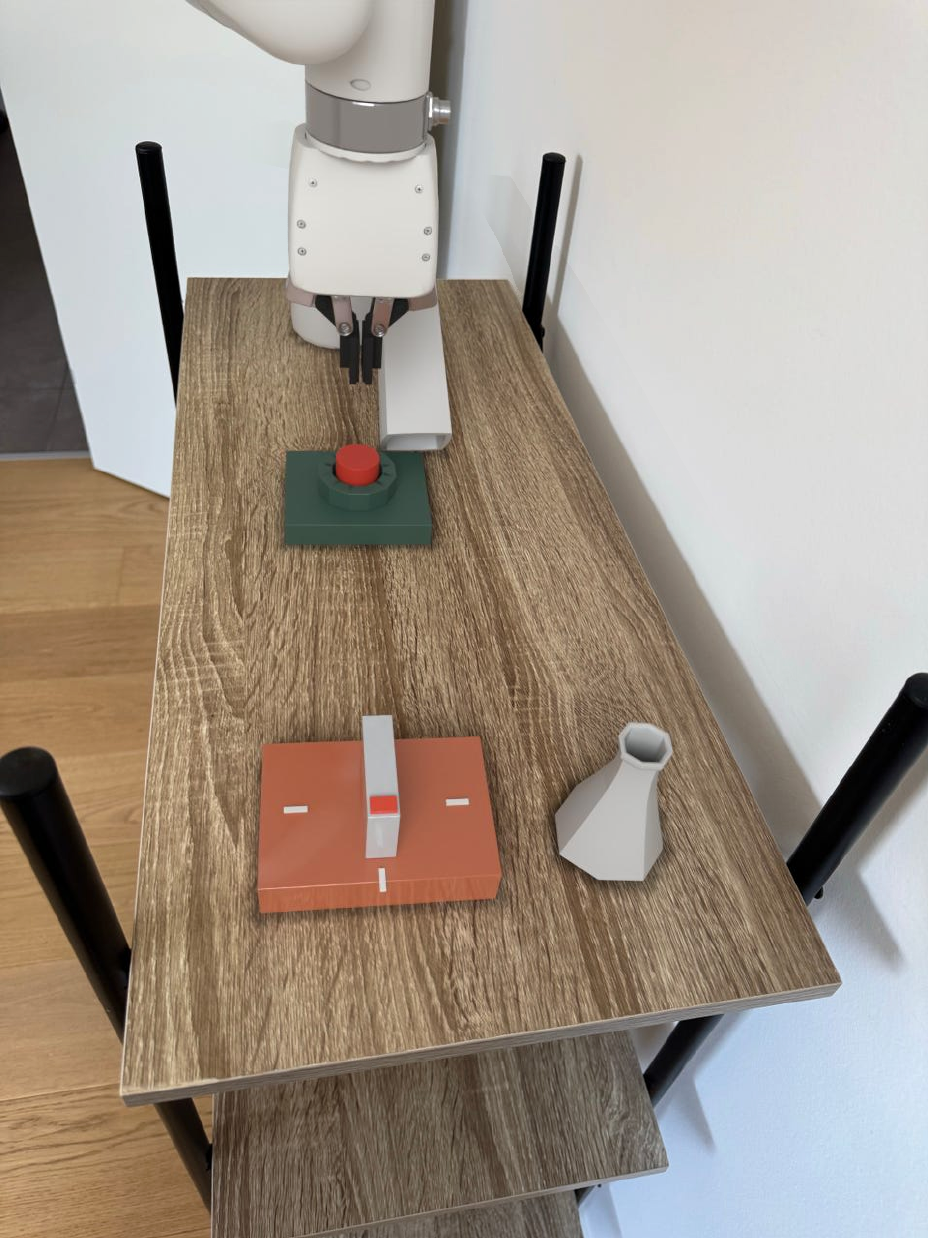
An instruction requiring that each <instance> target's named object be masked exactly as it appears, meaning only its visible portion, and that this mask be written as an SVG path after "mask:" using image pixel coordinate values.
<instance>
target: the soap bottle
mask: <svg viewBox="0 0 928 1238" xmlns="http://www.w3.org/2000/svg"><path fill="white" fill-rule="evenodd" d="M371 298H372V297H350V299H351V306H352V311H353V312H354V313H355V314H356V318H357V320H359V332H360V347H361V346H362V320H365V316H366V314H367V313H368V312H369V309H370V304H371ZM290 318H291V319H290V320H291V324H292V327H293V331H294V332H296V333H297V335H299V337H300V338H302V340H304V341H305V342H307V343H309V344H311V345H314V346H316V347H318V348H323V349H324V348H325V349H330V350H340V334H339V333H338V332H337V329H336V327H335V326H334V325H333V324H332V323H331V322H330V321H329V320H328V319H327V318H326V317H325V316H324V315H323V314H322V313H320V312H319V311H318V310H317V308H314V307H307V306H304V305H300V304H296V303H293V302H290Z"/></svg>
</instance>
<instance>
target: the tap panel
mask: <svg viewBox="0 0 928 1238" xmlns="http://www.w3.org/2000/svg"><path fill="white" fill-rule="evenodd" d="M394 744H395V756H396V768H397V780H398V792H399V804H400V825H399V835H398V845H397V854H396V857H382V858H365V839H364V819H363V800H362V780H361V760H360V758H361V739H360V740H359V739H357V740H335V741H334V740H331V741H301V742H277V743H263V744H262V750H261V752H262V755H261V777H260V778H261V780H260V781H261V783H260V804H259V805H260V807H259V811H260V812H259V831H258V832H259V833H258V837H259V838H258V857H257V858H258V859H257V860H258V863H257V883H256V884H257V885H256V890H257V891H256V892H257V899H258V906H259V913H260V914H271V913H287V912H289V913H290V912H303V911H304V912H305V911H319V910H320V911H321V910H334V909H351V908H366V907H381V906H397V905H413V904H414V905H415V904H428V903H445V902H447V903H448V902H459V901H460V902H462V901H475V900H477V901H478V900H490V899H491V900H492V899H496V898H497V894H498V891H499V887H500V883H501V879H502V876H503V872H502V866H501V859H500V853H499V847H498V840H497V834H496V828H495V821H494V814H493V809H492V804H491V803H492V801H491V796H490V790H489V783H488V779H487V778H488V777H487V773H486V765H485V760H484V753H483V747H482V741H481V736H479V735H475V736H473V735H472V736H449V737H448V736H447V737H446V736H445V737H421V738H420V737H419V738H418V737H417V738H394Z"/></svg>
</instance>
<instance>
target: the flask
mask: <svg viewBox="0 0 928 1238" xmlns="http://www.w3.org/2000/svg"><path fill="white" fill-rule="evenodd" d="M616 741H617V745H618V746H617V747H618V750H617V752H616V755H615V757H614V758H613V759H612V760H611V761H609V762H608V763H606V765H604V766H603V767H601V768H600V769H599V770H598V771H596V772H594V773H593V774H592V775H590V776H588V777H587V778H585V779H584V780H582V781H581V782H579V783H578V784H576V786H575V787H574V788H573V789H572V791H571V792H570V793H569V795H568V796H567V798H566V799H565V800H564V802H563V803H562V805H561V806H559V808H558V810H557V811H556V812H555V813H554V820H555V826H556V827H555V828H556V837H557V838H556V839H557V847H558V854H559V855H560V856H561V857H563V858H564V859H566V860H568V861H569V862H571V863H572V864H573V865H574V866H576V867H578V868H579V869H581V870H583V871H584V872H585V873H587V874H588V875H590V876H592V877H593V878H595V879H596V880H597V881H627V882H630V881H632V882H643V881H645V879H646V878H647V875H648V874H649V873H650V871H651V869H652V867H653V866H654V864H655V863H656V861H657V859H658V858H659V857H660V855H661V853H662V852H663V850H664V842H663V836H662V835H663V833H662V826H661V822H660V814H659V813H660V811H659V802H658V792H657V789H658V781H659V775H660V771H662V770H663V769H664V767H665V766H666V765H667V763H668V762H669V760H670V759H671V757H672V756H673V753H674V751H673V746H672V741H671V737H670V734H669V733H668V732H666V731H664V730H663V729H661V728H659V727H657V726H656V725H654V724H652V723H651V722H636V721H635V722H634V721H628V722H627V724H626V725H625V726H624V728H623V729H622V730H621V732H620V733H619V735H618V736H617V740H616Z"/></svg>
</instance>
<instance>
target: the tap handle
mask: <svg viewBox="0 0 928 1238" xmlns="http://www.w3.org/2000/svg"><path fill="white" fill-rule="evenodd" d="M360 735H361V736H360V740H361V758H360V760H361V780H362V800H363V819H364V839H365V858H382V857H396V854H397V845H398V835H399V825H400V804H399V792H398V780H397V768H396V756H395V744H394V739H395V733H394V721H393V715H392V714H377V715H362V717H361V733H360Z"/></svg>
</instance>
